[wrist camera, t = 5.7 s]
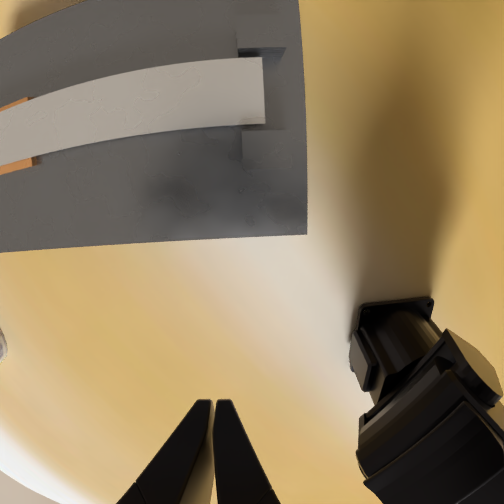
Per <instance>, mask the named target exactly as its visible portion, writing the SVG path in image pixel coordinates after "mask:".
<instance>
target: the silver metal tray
mask: <svg viewBox="0 0 504 504" xmlns="http://www.w3.org/2000/svg"><path fill="white" fill-rule="evenodd" d="M250 57H262V66H263V86H264V106H265V124H251V125H232V126H217V127H205V128H194V129H184V130H175V131H166V132H158V133H151V134H144V135H137V136H130V137H124V138H118V139H112V140H107V141H101V142H96V143H91V144H86V145H81V146H76V147H72V148H67V149H63V150H59V151H54V152H50V153H46V154H42V155H38V156H35V157H31V158H27V159H24V160H20V161H16V162H13V163H10V164H6V165H3V166H0V253H3V252H15V251H28V250H42V249H56V248H70V247H84V246H99V245H115V244H131V243H147V242H164V241H182V240H200V239H219V238H239V237H260V236H282V235H305V234H307V138H306V108H305V86H304V68H303V52H302V38H301V25H300V13H299V3H298V0H87V1H84V2H81V3H78V4H76V5H73V6H70V7H68V8H65V9H63V10H60V11H58V12H55V13H53V14H50V15H48V16H46V17H44V18H41V19H39V20H37V21H35V22H33V23H31V24H29V25H26V26H24V27H22V28H20V29H18V30H17V31H15V32H13V33H11V34H9V35H7V36H5V37H3V38H2V39H0V112H1V111H4V110H6V109H8V108H11V107H13V106H16V105H18V104H21V103H23V102H26V101H29V100H31V99H34V98H37V97H40V96H43V95H46V94H48V93H51V92H55V91H58V90H61V89H64V88H67V87H71V86H74V85H77V84H81V83H85V82H88V81H92V80H96V79H100V78H104V77H108V76H112V75H117V74H121V73H126V72H131V71H136V70H141V69H147V68H153V67H159V66H165V65H172V64H179V63H187V62H195V61H205V60H216V59H230V58H250Z"/></svg>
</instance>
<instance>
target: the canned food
mask: <svg viewBox="0 0 504 504" xmlns="http://www.w3.org/2000/svg"><path fill="white" fill-rule="evenodd" d="M6 356H7V344H6V341H5V338H4V335H3V333H2V331H1V329H0V364H1V363H2V362H3V360H4V359H5V358H6Z"/></svg>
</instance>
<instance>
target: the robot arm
mask: <svg viewBox="0 0 504 504" xmlns="http://www.w3.org/2000/svg"><path fill="white" fill-rule="evenodd" d="M428 302H429V303H428ZM427 303H428V304H427ZM433 306H434V300H433V299H432V298H431V297H429V296H428V297H420V298H411V299H403V300H394V301H385V302H375V303H366V304H363V305H361V306H360V308H359V311H358V318H357V325H356V330H354V332H353V333H352V339H351V345H350V351H349V359H350V369H351V371H352V372H355V374H356V377H357V379H358V382H359V384H360V387H361V390H362V391H364V392H369V393H370V395H371V398H372V400H373V403H374V405H375V406H374V407H373V408H372V409H371V410H370V411H368V412H367V413H364V414H363V415H362V416H361V417H360V418H359V438H358V449H357V450H356V458H357V460H358V464H359V468H360V470H361V472H362V474H363V475H364V477H365V478H366V480H364V481H363V484H364V485H365V486H366V487H367V488H368V489H370V490H371V491H372V492H373V493H375V495H376V496H377V497H378V498H379V499H380V500H381V502H382V503H383V504H504V406H503V405H502V404H501V402H500V401H499V400H500V399H501V398H502V397H503V392H502V389H501V386H500V383H499V380H498V377H497V374H496V371H495V369H494V367H493V366H492V365H491V364H490V363H489V362H488V361H487V359H486V358H485V357H484V356H483V355H482V354H481V353H480V352H479V351H478V350H477V349H476V348H475V347H473V346H472V345H471V344H469V343H468V342H466V341H465V340H463V339H462V338H460V337H459V336H458V335H456V334H455V333H453V332H452V331H450V330H449V329H447V328H446V329H445V331H444V332H443V333H442V332H441V331H440V329H439V328H438V327H437V326H436V324H435V323H434V322H433V321H432V320H431V314H432V310H433ZM366 309H368V310H367V311H366V312H364V310H366ZM214 473H215V479H216V490H217V500H218V504H281V503H280V502H279V500H278V498H277V496H276V494H275V492H274V490H273V489H272V486H271V484H270V482H269V480H268V478H267V476H266V474H265V472H264V470H263V468H262V466H261V464H260V462H259V460H258V458H257V455H256V453H255V451H254V449H253V447H252V445H251V443H250V440H249V438H248V436H247V434H246V432H245V429H244V427H243V425H242V423H241V420H240V418H239V416H238V414H237V411H236V409H235V407H234V404H233V402H232V400H231V399H218V400H217V403H216V410H215V411H214V406H213V402H212V400H210V399H198V400H197V401H196V402H195V403H194V405H193V406H192V407H191V409H190V410H189V412H188V413H187V414H186V416H185V417H184V418H183V420H182V421H181V422H180V424H179V425H178V426H177V428H176V429H175V430H174V432H173V433H172V434H171V436H170V437H169V438H168V440H167V441H166V442H165V443H164V445H163V446H162V447H161V449H160V450H159V451H158V453H157V454H156V455H155V456H154V458H153V459H152V460H151V462H150V463H149V464H148V465H147V467H146V468H145V469H144V471H143V472H142V473H141V474H140V476H139V477H138V478H137V479H136V483H135V482H134V483H133V484H132V486H131V487H130V488H129V489H128V491H127V492H126V493H125V494H124V495H123V496H122V498H121V499H120V500H119V501H118V502H117V503H116V504H210V500H211V493H212V486H213V480H214Z"/></svg>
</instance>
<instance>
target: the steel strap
mask: <svg viewBox="0 0 504 504" xmlns="http://www.w3.org/2000/svg"><path fill="white" fill-rule="evenodd" d="M251 124H265V106H264V86H263V66H262V57H250V58H230V59H216V60H205V61H195V62H187V63H179V64H172V65H165V66H159V67H153V68H147V69H141V70H136V71H131V72H126V73H121V74H117V75H112V76H108V77H104V78H100V79H96V80H92V81H88V82H85V83H81V84H77V85H74V86H71V87H67V88H64V89H61V90H58V91H55V92H51V93H48V94H46V95H43V96H40V97H37V98H34V99H31V100H29V101H26V102H23V103H21V104H18V105H16V106H13V107H11V108H8V109H6V110H4V111H1V112H0V166H3V165H6V164H10V163H13V162H16V161H20V160H24V159H27V158H31V157H35V156H38V155H42V154H46V153H50V152H54V151H59V150H63V149H67V148H72V147H76V146H81V145H86V144H91V143H96V142H101V141H107V140H112V139H118V138H124V137H130V136H137V135H144V134H151V133H158V132H166V131H175V130H184V129H194V128H205V127H217V126H232V125H251Z"/></svg>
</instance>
